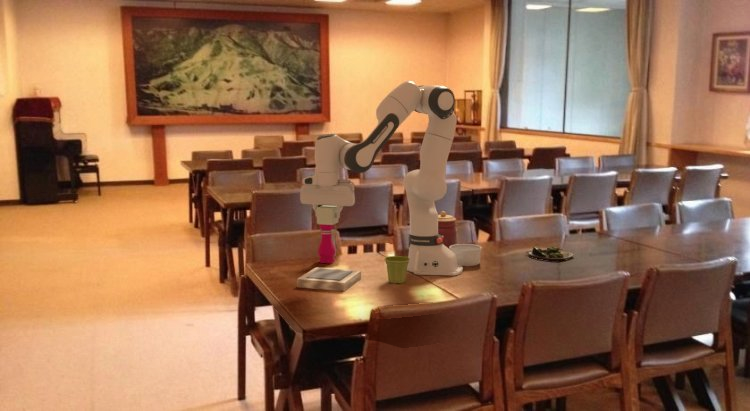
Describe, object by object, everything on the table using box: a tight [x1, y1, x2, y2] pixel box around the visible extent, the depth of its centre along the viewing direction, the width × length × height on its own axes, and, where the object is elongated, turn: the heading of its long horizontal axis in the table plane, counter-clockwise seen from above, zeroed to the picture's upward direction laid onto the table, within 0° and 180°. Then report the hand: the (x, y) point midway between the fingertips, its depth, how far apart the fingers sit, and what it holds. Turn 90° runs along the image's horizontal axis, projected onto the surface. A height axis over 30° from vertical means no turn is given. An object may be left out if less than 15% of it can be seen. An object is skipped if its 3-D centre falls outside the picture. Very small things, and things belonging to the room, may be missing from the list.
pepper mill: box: [317, 224, 336, 264], centre depth 278 cm, size 7×7×20 cm
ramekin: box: [449, 243, 483, 267], centre depth 277 cm, size 13×13×7 cm
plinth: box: [296, 266, 362, 292], centre depth 247 cm, size 18×18×3 cm
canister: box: [438, 210, 459, 249], centre depth 301 cm, size 13×13×18 cm
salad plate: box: [524, 246, 574, 262], centre depth 290 cm, size 19×18×5 cm
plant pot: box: [384, 255, 410, 284], centre depth 248 cm, size 9×9×9 cm
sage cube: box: [316, 205, 339, 225], centre depth 245 cm, size 6×6×6 cm
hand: (327, 217), depth 245 cm, fingers closed on sage cube, 6 cm apart
